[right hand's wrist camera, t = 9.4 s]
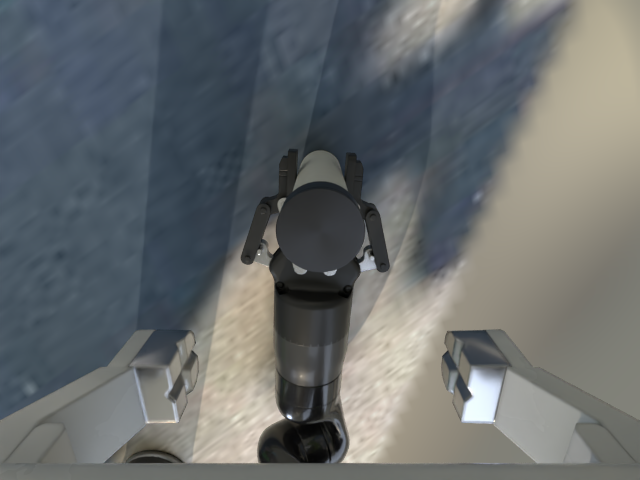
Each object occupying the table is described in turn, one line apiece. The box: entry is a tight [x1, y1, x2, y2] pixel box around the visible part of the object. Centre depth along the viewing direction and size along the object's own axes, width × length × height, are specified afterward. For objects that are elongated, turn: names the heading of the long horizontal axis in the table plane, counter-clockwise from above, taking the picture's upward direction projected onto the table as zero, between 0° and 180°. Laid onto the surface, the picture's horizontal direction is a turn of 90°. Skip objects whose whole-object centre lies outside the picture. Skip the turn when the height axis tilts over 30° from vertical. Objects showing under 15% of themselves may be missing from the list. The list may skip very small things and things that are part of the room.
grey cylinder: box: [293, 150, 348, 191], centre depth 29 cm, size 4×4×18 cm
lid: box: [276, 181, 365, 272], centre depth 21 cm, size 5×5×2 cm
